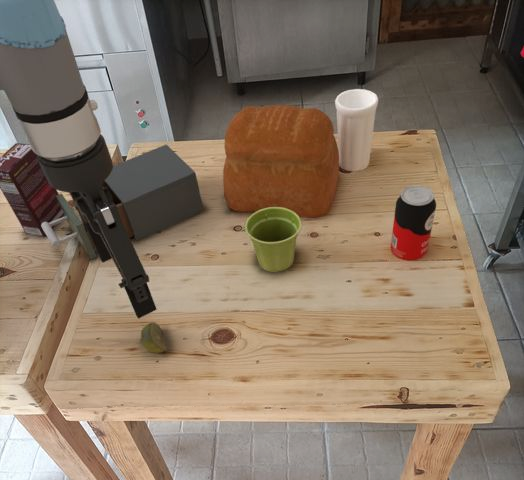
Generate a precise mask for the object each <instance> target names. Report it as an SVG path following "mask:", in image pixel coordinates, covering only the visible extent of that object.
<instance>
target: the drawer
mask: <svg viewBox="0 0 524 480" xmlns="http://www.w3.org/2000/svg"><path fill="white" fill-rule="evenodd" d="M103 185H104V188H106V187H107V188H108V190H109V192H110V194H111V196H112V198H113V201H112V202H113V203H114V204H115V205H116V206H117V208H118V213H119V215H120V218H121V220H122V223H123V225H124V227H125V229H126V231H127V233H128V236H129V238H130V239H132V238H133V237H135V236H134V234H133V231H132V228H131V225H130V222H129V220H128V217H127V214H126V211H125V208H124V206H123V204H122V202H121V201H120V200H119V199H118V197H117V196H116V195H115V194H114V192H113V191H112V190H111V189H110V187H109V186H108V185H107V184H106V182H105V181H104V182H103ZM58 194H59V195H57V196H56V198H57V200H58V202H59V204H60V206H61V208H62V210H63V212H64V216H63V217H62V218H59V219H57V220H55V221H52V222H50V223H48V222H43V223H42V224H41V227H42V229H43V230H44V232H45V234H46V237H47V238H48V240H49V243H50V244H51V246H52V248H54V249H58V248H60V247H61V246H62V244H63V243H65V242H68V241H70V240H72V239H75V238H76V239H77V240H78V242H79V243H80V245H81V246H82V248H83V250H84V251H85V253H86V254H87V256H88V257H89V259H90V260H93V259H95V258H97V254H96V251H95V249H94V247H93V245H92V243H91V241H90V238H89V236H88V233H87V228H86V226H85V224H87V223H88V221H86V222H84V220H82V218H81V213H80V212H79V211H78V210H76V211H77V213H78V215H79V217H78V215H77V214H76V212H75V211H74V209H73V208H72V207H71V205H70V203H69V202H68V201H67V198H65V196H64V194H63V193H58ZM72 201H73V200H72ZM73 204H74V205H75V203H74V201H73ZM80 219H81V220H80ZM66 221H67V223H68V226H69V228H70V229H71V231H72V232H73V233H71V234H68V235H66V236H63V237H61V238H59V237H58V236H57V234H56V233H55V231H54V230H53V229H54V228H53V229H52V228H51V227H52V226H54V225H55V226H57V225H59V224H61V223H63V222H66ZM55 226H54V227H55ZM85 228H86V229H85Z"/></svg>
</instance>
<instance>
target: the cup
mask: <svg viewBox="0 0 524 480" xmlns="http://www.w3.org/2000/svg"><path fill="white" fill-rule="evenodd" d="M334 104H335V109H336V131H337V134H336V135H337V147H338V152H339V168H341V169H342V170H345V171H349V172H358V171H359V172H360V171H362V170H364V169H367V167H369V164H370V158H371V151H372V143H373V134H374V126H375V119H376V113H377V107H378V104H379V98H378V96H377V94H376V93H375V92H373V91H371V90H368V89H366V88H365V89H364V88H362V89H361V88H353V89H347V90H345V91H342V92H341V93H340V94H338V95H337V96H336V98H335V100H334Z"/></svg>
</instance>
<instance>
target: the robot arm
mask: <svg viewBox="0 0 524 480" xmlns="http://www.w3.org/2000/svg"><path fill="white" fill-rule="evenodd" d="M0 91H3V92H4V93H5V95H6V97H7V100H8V101H9V102H10V105H11V107H12V110H13V111H14V114H15V117H16V119H17V121H18V123H19V125H20V128H21V129H22V132H23V134H24V135H25V138H26V141H27V142H28V144H30V146H31V148H32V150H33V152H34V153H35V154H37V159H38V162H39V164H40V166H41V168H42V170H43V172H44V174H45V176H46V178H47V180H48V182H49V184H50V185H51V186H52V187H53V188H55V189H56V190H57V191H59V192H63V193H69V195H70V198H71V199H72V201H74V202H73V204H74V203H75V204H74V208H75V210H76V211H77V210H78V211H79V212H80V213H81V217H80V219H81V218H82V220H84V222H86V221H88V223H87V224H85V226H86V227H85V226H84V227H85V228H87V229H86V231H87V232H88V234H89V237H90V239H91V241H92V243H93V246H94V248H95V250H96V253H97V255H98V257H99V259H100V261H101V263H105V262H108V261H110V260H112V261H113V263H114V265H115V267H116V269H117V271H118V272H119V275H120V276H121V279H120V281H121V282H119V283H118V286H119V288H120V289H122V288H124V290H125V293H126V295H127V298H128V300H129V302H130V304H131V306H132V309H133V312H134V314H135V317H137V319H141V318H144V317H145V316H147V315H149V314H151V313H153V312H155V311H157V310H158V309H157V306H156V303H155V301H154V299H153V295H152V294H151V290H150V288H149V285H148V283H150V277H149V275H148V274H147V273H146V270H145V267H144V266H143V264H142V261H141V259H140V257H139V255H138V252H137V250H136V249H135V247H134V244H133V242H132V239H131V238H129V236H128V233H127V231H126V229H125V227H124V225H123V223H122V220H121V218H120V215H119V213H118V208H117V206H116V205H115V204H114V203H113V202H112V201H113V198H112V196H111V194H110V192H109V190H108V188H107V187H106V188H104V185H103V182H104V181H105V180H106V179H107V178H108V177H109V175H110V174H111V172H112V169H113V166H114V161H113V159H112V156H111V153H110V150H109V148H108V145H107V142H106V139H105V137H104V135H102V134H101V132H102V131H101V127H100V124H99V121H98V119H97V116H96V115H95V113H94V111H96V110H98V108H99V106H98V105H99V104H98V102H97V101H96V100H95V99H90V97H89V92H88V90H87V88H86V86H85V84H84V82H83V79H82V76H81V73H80V69H79V66H78V63H77V60H76V57H75V54H74V51H73V47H72V44H71V41H70V38H69V35H68V32H67V27H66V23H65V20H64V18H63V16H62V15H61V13H60V11H59V9H58V7H57V4H56V2H55V0H0ZM78 211H77V212H78ZM82 220H81V221H82Z"/></svg>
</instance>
